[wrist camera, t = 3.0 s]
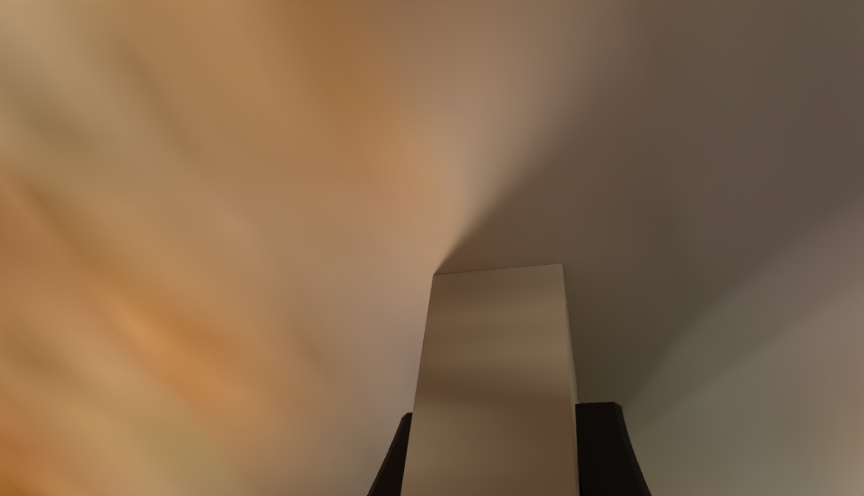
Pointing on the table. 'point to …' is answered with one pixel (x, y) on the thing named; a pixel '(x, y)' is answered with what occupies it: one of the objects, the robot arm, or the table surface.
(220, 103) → the table surface
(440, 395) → the wooden plank block
